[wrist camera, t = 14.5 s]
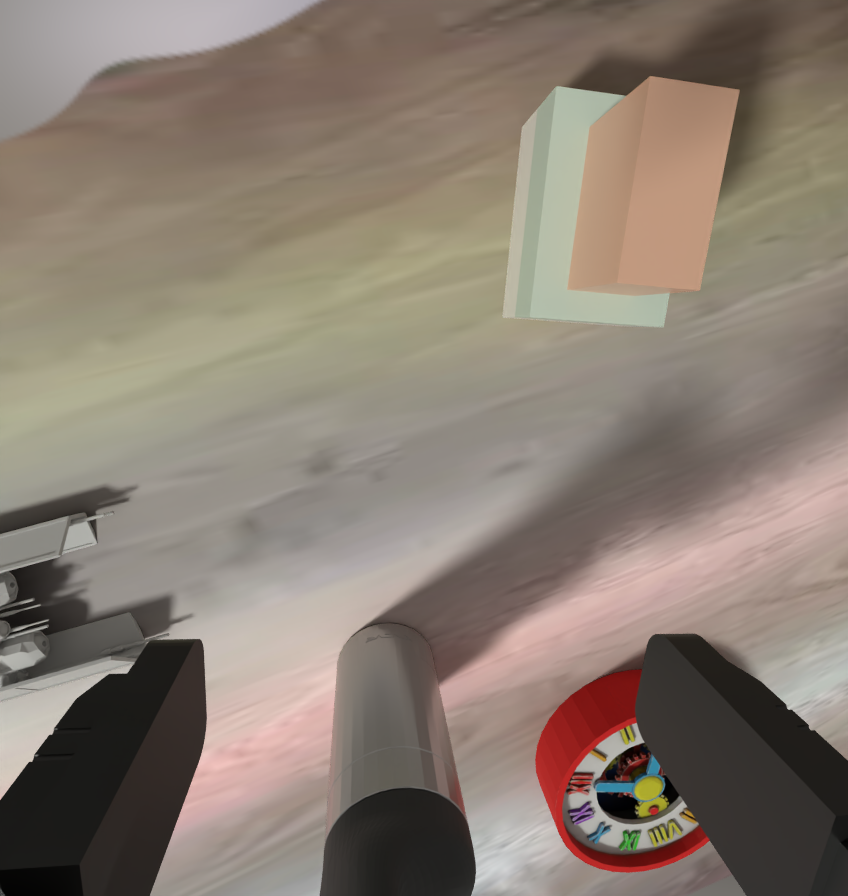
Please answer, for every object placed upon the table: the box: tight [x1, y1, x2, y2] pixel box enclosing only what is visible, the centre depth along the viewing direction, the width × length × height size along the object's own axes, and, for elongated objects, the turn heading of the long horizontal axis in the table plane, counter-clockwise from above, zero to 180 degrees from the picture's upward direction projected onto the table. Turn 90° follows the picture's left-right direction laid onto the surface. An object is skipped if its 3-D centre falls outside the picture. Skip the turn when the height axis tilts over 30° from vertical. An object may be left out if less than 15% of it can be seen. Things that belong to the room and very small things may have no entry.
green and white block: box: [502, 86, 670, 327], centre depth 37 cm, size 14×10×7 cm
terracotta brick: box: [567, 76, 740, 296], centre depth 30 cm, size 5×10×7 cm, turn 175°
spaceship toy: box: [0, 511, 169, 703], centre depth 40 cm, size 14×20×6 cm
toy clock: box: [535, 669, 710, 873], centre depth 52 cm, size 20×6×20 cm
